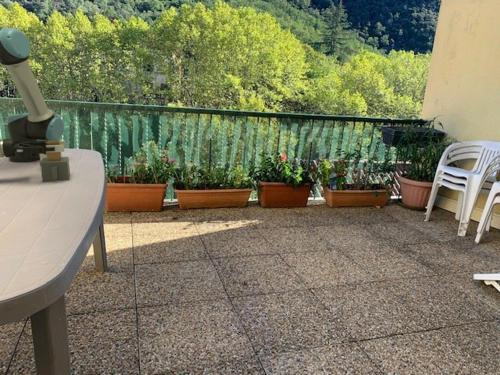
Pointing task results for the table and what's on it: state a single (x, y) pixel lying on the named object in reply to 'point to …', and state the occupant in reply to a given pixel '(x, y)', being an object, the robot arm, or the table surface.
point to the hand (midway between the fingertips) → (64, 146)
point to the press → (55, 170)
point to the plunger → (53, 155)
